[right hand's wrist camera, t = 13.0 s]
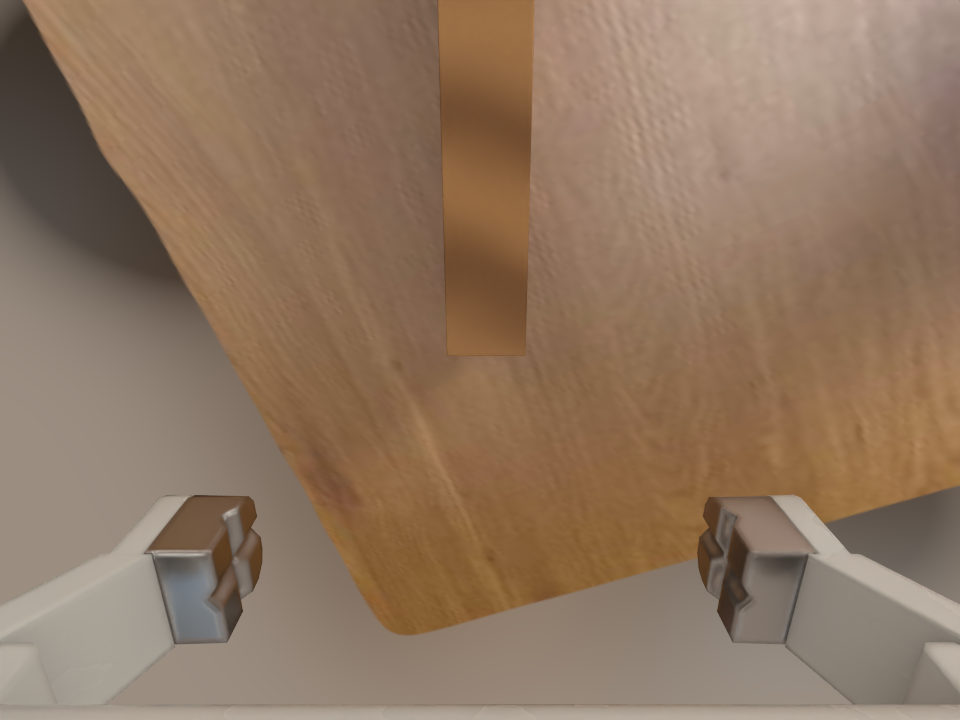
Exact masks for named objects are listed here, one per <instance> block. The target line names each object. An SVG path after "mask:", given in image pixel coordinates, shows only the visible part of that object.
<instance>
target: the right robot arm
mask: <svg viewBox="0 0 960 720" xmlns="http://www.w3.org/2000/svg"><path fill="white" fill-rule="evenodd" d="M256 517H257V514H256V509H255V504H254V501H253V500H252V499H251V498H250V497H249V496H208V495H194V496H192V495H166V496H163V497H160V498H159V499H158V500H157V501H156V502H155V503H154V504H153V506H152V507H151V508H150V509H149V510H148V511H147V512H146V513H145V515H144V516H143V517H142V518H141V519H140V520H139V521H138V522H137V524H136V525H135V526H134V527H133V528H132V529H131V530H130V532H129V533H128V534H127V535H126V536H125V537H124V538H123V539H122V541H121V542H120V543H119V544H118V545H117V546H116V547H115V549H114V550H113V551H112V552H111V553H110V554H100V555H98V556H96V557H94V558H92V559H90V560H88V561H86V562H84V563H82V564H80V565H78V566H76V567H74V568H72V569H70V570H68V571H66V572H64V573H62V574H60V575H58V576H56V577H54V578H52V579H50V580H48V581H46V582H44V583H42V584H40V585H38V586H36V587H34V588H32V589H30V590H28V591H26V592H24V593H22V594H20V595H18V596H16V597H14V598H12V599H10V600H8V601H6V602H5V603H2V604H1V605H0V720H960V605H959V604H957V603H955V602H953V601H951V600H949V599H947V598H945V597H943V596H941V595H939V594H937V593H935V592H934V591H932V590H929V589H928V588H926V587H924V586H922V585H920V584H918V583H916V582H914V581H912V580H910V579H908V578H906V577H904V576H902V575H900V574H898V573H896V572H894V571H892V570H890V569H888V568H886V567H884V566H882V565H880V564H878V563H876V562H874V561H872V560H870V559H868V558H866V557H864V556H862V555H860V554H850V553H849V552H848V551H847V550H846V549H845V547H844V546H843V545H842V544H841V543H840V542H839V541H838V539H837V538H836V537H835V536H834V535H833V534H832V533H831V532H830V530H829V529H828V528H827V527H826V526H825V525H824V524H823V522H822V521H821V520H820V519H819V518H818V517H817V516H816V515H815V513H814V512H813V511H812V510H811V509H810V508H809V507H808V506H807V504H806V503H805V502H804V501H803V500H802V499H801V498H800V497H798V496H795V495H770V496H749V497H709V498H708V500H707V502H706V504H705V508H704V514H703V517H704V519H705V521H706V523H707V525H708V526H709V528H708V529H707V530H706V531H705V532H704V533H703V534H702V535H701V536H700V537H699V544H698V552H697V554H698V566H699V571H700V575H701V578H702V581H703V583H704V585H705V588H706V590H707V591H708V592H709V593H710V594H712V595H713V596H715V597H716V598H717V599H719V604H718V609H717V612H718V614H719V616H720V618H721V620H722V622H723V624H724V626H725V628H726V630H727V632H728V634H729V636H730V638H731V640H732V642H733V643H758V644H786V645H785V647H786V648H787V649H788V650H789V651H791V652H792V653H793V654H794V655H795V656H797V657H798V658H799V659H800V660H801V661H803V662H804V663H805V664H806V665H807V666H808V667H810V668H811V669H812V670H813V671H814V672H816V673H817V674H818V675H819V676H820V677H821V678H823V679H824V680H825V681H826V682H827V683H829V684H830V685H831V686H832V687H833V688H834V689H836V690H837V691H838V692H839V693H840V694H842V695H843V696H844V697H845V698H846V699H847V700H849V701H850V702H851V703H852V704H833V705H832V704H831V705H626V704H621V705H620V704H616V705H615V704H614V705H613V704H523V705H522V704H520V705H519V704H516V705H515V704H509V705H507V704H506V705H107V704H108V703H109V702H110V701H111V700H113V699H114V698H115V697H116V696H117V695H119V694H120V693H121V692H122V691H123V690H124V689H126V688H127V687H128V686H129V685H130V684H132V683H133V682H134V681H135V680H136V679H138V678H139V677H140V676H141V675H142V674H143V673H145V672H146V671H147V670H148V669H149V668H151V667H152V666H153V665H154V664H155V663H156V662H158V661H159V660H160V659H161V658H162V657H164V656H165V655H166V654H167V653H168V652H170V651H171V650H172V649H173V648H174V647H175V645H174V644H200V643H227V642H228V640H229V638H230V636H231V634H232V632H233V630H234V628H235V626H236V624H237V622H238V620H239V618H240V616H241V614H242V612H243V609H242V604H241V599H243V598H244V597H245V596H247V595H248V594H250V593H251V592H252V591H253V590H254V588H255V585H256V583H257V581H258V579H259V575H260V570H261V565H262V543H261V537H260V536H259V535H258V534H257V533H256V532H255V531H254V530H253V529H252V528H251V526H252V525H253V523H254V521H255V519H256Z"/></svg>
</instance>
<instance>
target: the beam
mask: <svg viewBox="0 0 960 720" xmlns="http://www.w3.org/2000/svg"><path fill="white" fill-rule="evenodd" d="M534 4H535V0H438V38H439V75H440V112H441V150H442V187H443V225H444V262H445V299H446V337H447V356H525V348H526V309H527V271H528V233H529V195H530V157H531V119H532V80H533V42H534Z"/></svg>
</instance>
